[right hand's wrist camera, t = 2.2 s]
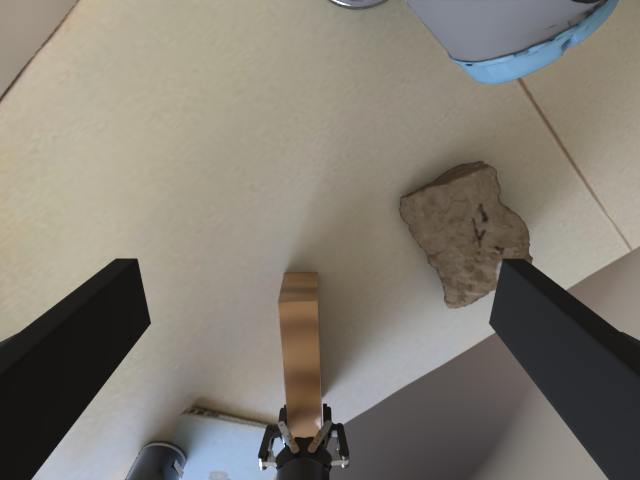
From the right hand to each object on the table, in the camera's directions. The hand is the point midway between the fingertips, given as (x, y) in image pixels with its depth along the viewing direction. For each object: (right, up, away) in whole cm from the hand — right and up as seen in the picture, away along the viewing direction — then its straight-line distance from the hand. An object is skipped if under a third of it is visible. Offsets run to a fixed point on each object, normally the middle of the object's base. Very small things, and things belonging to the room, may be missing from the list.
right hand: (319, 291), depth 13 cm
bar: (-3, -16, +50) cm, 52 cm away
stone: (+22, +3, +42) cm, 48 cm away
